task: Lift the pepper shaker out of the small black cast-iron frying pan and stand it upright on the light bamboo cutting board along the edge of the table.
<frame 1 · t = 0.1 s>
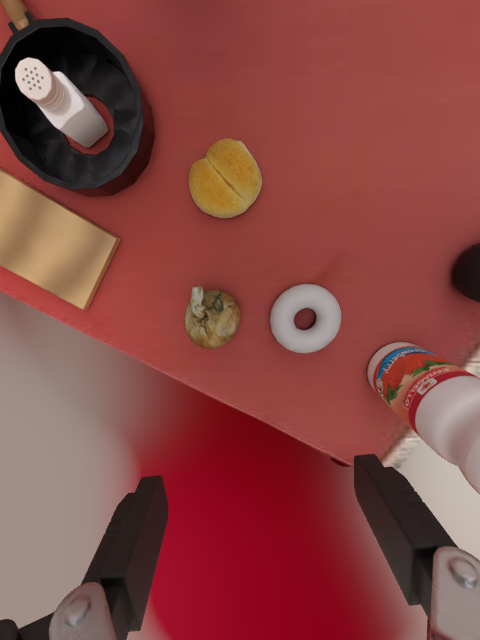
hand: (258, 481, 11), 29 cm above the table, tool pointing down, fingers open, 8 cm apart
pepper shaker: (89, 127, 33), resting in pan
fruit juice: (394, 368, 42), on the table
onion: (212, 312, 40), on the table
board: (28, 231, 36), on the table
donut: (302, 316, 40), on the table
pan: (89, 126, 33), on the table
cola bottle: (474, 270, 39), on the table
bread roll: (226, 183, 35), on the table
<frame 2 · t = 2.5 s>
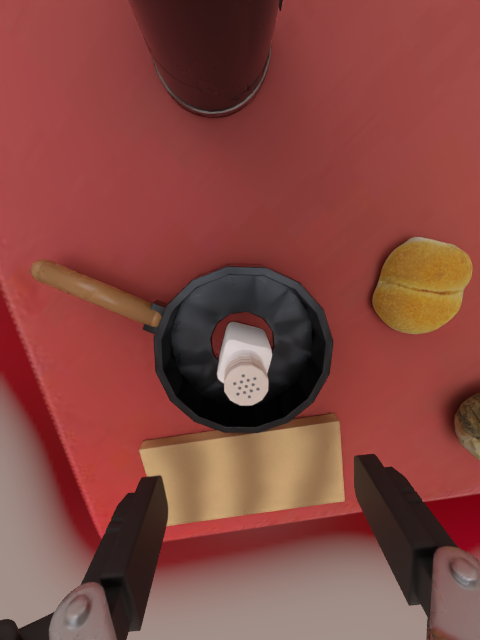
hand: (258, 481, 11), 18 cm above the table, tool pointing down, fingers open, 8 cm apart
pepper shaker: (242, 340, 28), resting in pan
onion: (470, 411, 31), on the table
board: (245, 466, 32), on the table
pan: (242, 341, 28), on the table
bread roll: (410, 283, 27), on the table
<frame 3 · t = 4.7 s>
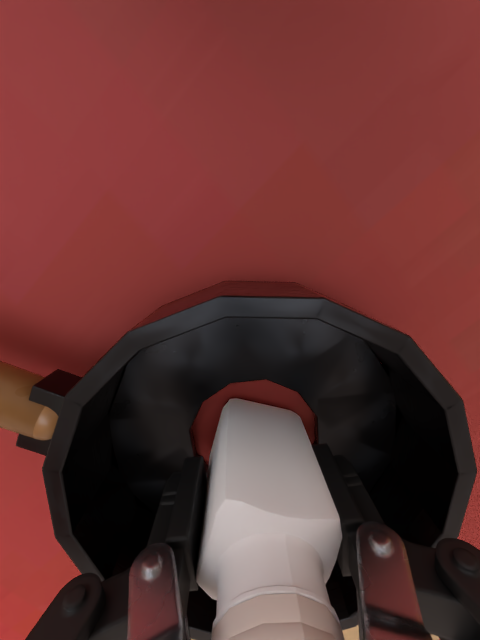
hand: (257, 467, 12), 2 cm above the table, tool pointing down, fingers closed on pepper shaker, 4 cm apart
pepper shaker: (253, 429, 14), resting in pan, touching gripper
pan: (254, 432, 14), on the table
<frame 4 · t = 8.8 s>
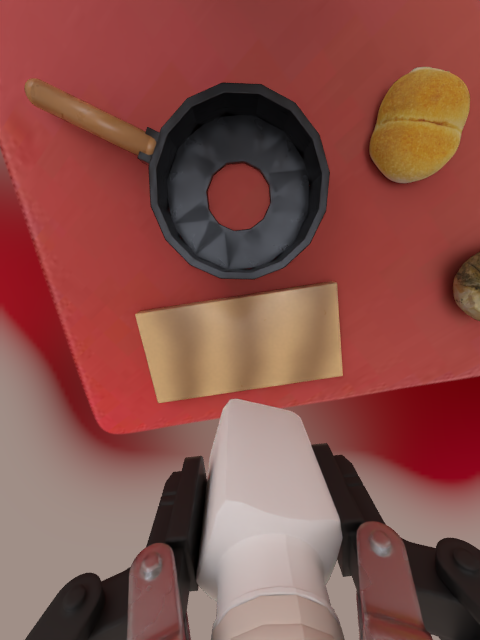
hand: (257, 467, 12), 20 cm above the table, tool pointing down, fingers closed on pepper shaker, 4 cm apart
pepper shaker: (253, 430, 14), point 18 cm above the table, touching gripper
onion: (469, 281, 31), on the table
board: (242, 341, 32), on the table
pan: (238, 198, 28), on the table
bread roll: (407, 134, 27), on the table
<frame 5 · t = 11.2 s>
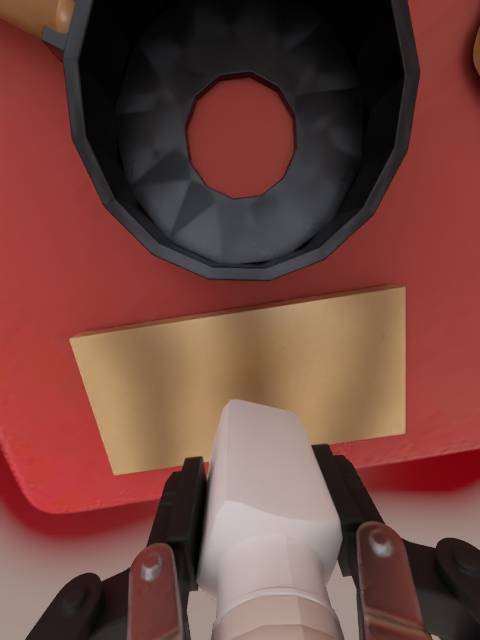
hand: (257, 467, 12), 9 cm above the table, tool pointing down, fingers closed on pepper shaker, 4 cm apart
pepper shaker: (253, 430, 14), point 6 cm above the table, touching gripper
board: (246, 379, 20), on the table
pan: (241, 141, 16), on the table
when the fingers open (4 cm above the table, at t = 12.8 s): pepper shaker stays where it is, resting on board.
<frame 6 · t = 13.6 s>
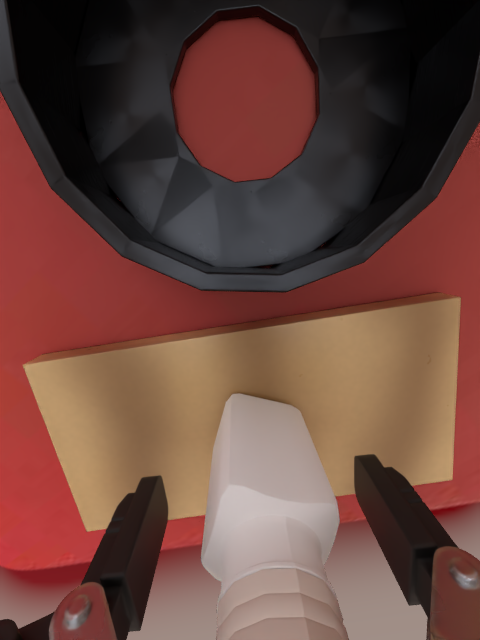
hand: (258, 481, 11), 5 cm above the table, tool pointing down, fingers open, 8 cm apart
pepper shaker: (255, 424, 15), point 1 cm above the table, touching board
board: (252, 411, 16), on the table
pan: (245, 105, 12), on the table
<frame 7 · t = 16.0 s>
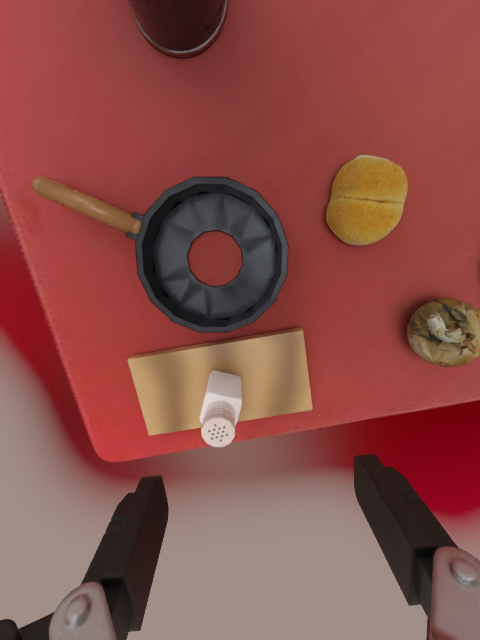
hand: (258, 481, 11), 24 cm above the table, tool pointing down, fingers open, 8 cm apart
pepper shaker: (223, 384, 35), point 1 cm above the table, touching board
onion: (423, 325, 35), on the table
board: (223, 380, 36), on the table
pan: (215, 259, 32), on the table
bread roll: (359, 203, 31), on the table
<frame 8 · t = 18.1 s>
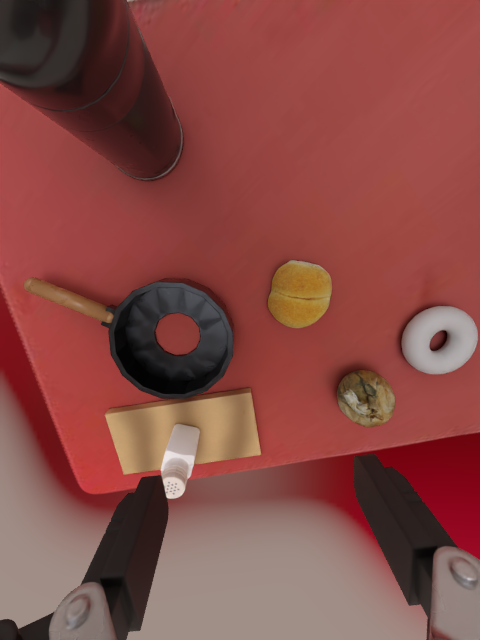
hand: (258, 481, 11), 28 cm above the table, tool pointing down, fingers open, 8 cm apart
pepper shaker: (185, 434, 41), point 1 cm above the table, touching board
onion: (353, 386, 42), on the table
board: (186, 428, 43), on the table
donut: (429, 336, 40), on the table
pan: (178, 334, 39), on the table
bread roll: (296, 292, 38), on the table
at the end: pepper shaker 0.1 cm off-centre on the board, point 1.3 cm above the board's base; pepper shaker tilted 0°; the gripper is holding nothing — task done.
